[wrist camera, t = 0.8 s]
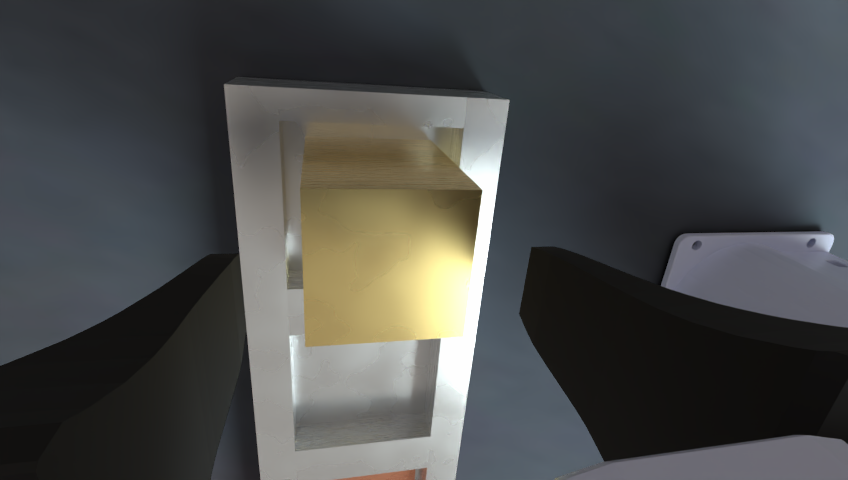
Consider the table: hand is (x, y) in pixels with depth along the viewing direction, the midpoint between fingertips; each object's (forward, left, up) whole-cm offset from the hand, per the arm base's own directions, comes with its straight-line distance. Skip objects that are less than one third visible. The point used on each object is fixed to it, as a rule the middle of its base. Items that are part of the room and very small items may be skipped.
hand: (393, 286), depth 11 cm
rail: (0, +8, -8) cm, 11 cm away
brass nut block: (0, 0, -7) cm, 7 cm away
